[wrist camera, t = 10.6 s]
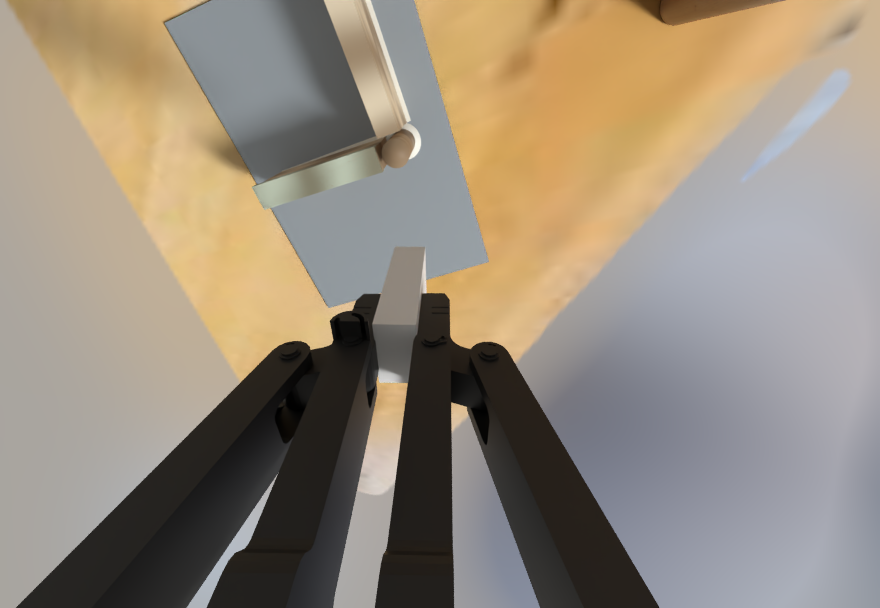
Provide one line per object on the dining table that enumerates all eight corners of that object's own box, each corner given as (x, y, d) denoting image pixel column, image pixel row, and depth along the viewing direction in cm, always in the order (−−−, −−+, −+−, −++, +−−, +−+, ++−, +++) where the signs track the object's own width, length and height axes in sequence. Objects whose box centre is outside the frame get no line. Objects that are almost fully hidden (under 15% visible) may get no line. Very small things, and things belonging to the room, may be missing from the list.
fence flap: (385, 135, 37) (373, 146, 32) (392, 157, 39) (382, 172, 33) (281, 170, 39) (251, 187, 33) (291, 190, 41) (264, 209, 35)
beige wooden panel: (320, -53, 30) (286, -88, 24) (346, -66, 30) (319, -106, 24) (397, 156, 39) (387, 172, 33) (418, 149, 39) (413, 163, 32)
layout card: (166, 23, 33) (163, 22, 33) (389, -85, 29) (389, -87, 29) (329, 306, 49) (328, 308, 49) (488, 260, 45) (488, 262, 45)
